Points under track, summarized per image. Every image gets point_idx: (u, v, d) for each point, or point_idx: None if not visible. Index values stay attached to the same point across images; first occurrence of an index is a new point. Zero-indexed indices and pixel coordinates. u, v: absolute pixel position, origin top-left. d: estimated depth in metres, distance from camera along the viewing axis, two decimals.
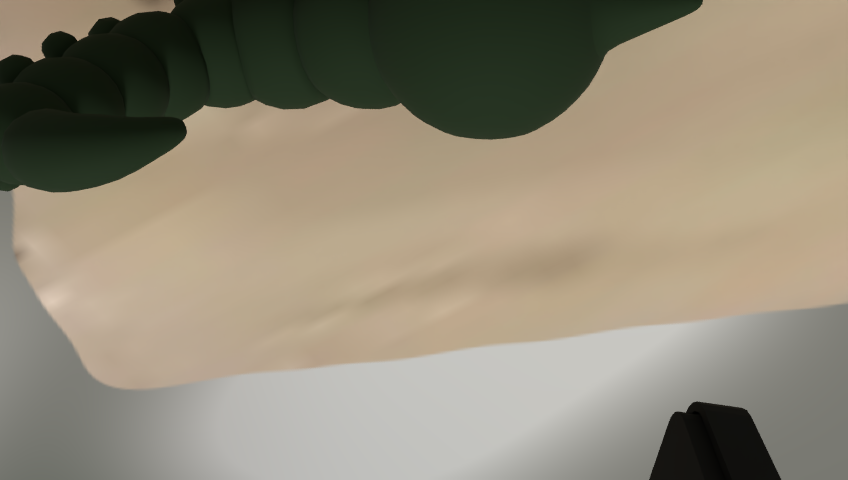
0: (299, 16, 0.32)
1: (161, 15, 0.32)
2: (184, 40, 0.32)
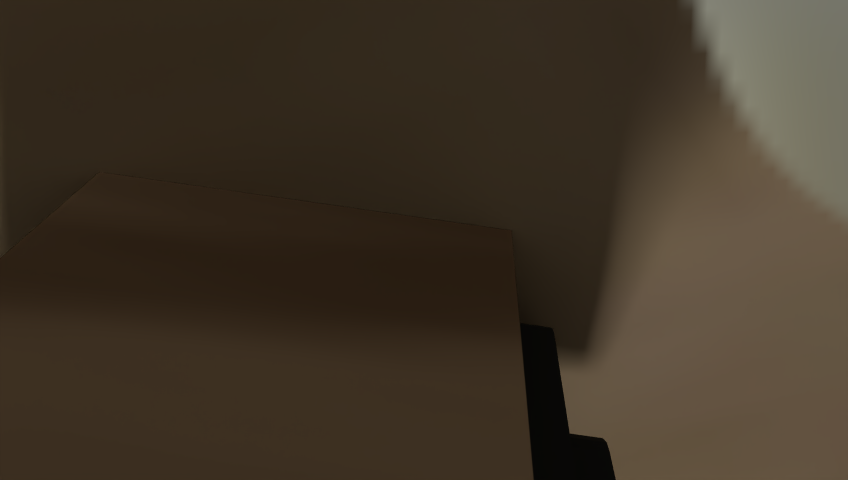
0: None
1: None
2: None
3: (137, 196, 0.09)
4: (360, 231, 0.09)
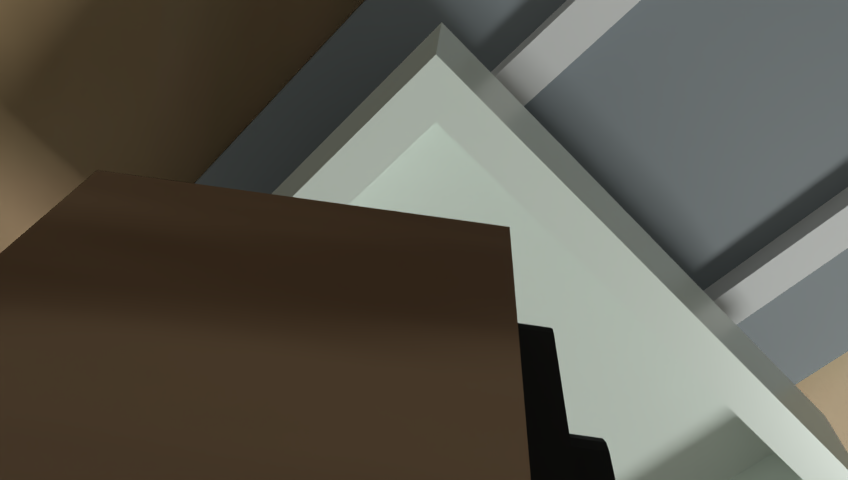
0: None
1: None
2: None
3: (135, 194, 0.09)
4: (357, 228, 0.09)
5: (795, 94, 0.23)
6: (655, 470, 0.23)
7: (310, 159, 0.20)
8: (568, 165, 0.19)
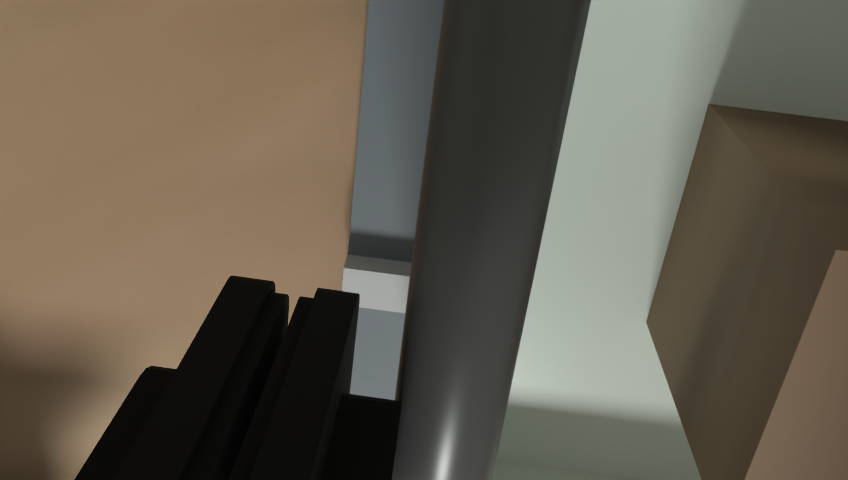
0: None
1: None
2: None
3: None
4: None
5: None
6: None
7: None
8: None
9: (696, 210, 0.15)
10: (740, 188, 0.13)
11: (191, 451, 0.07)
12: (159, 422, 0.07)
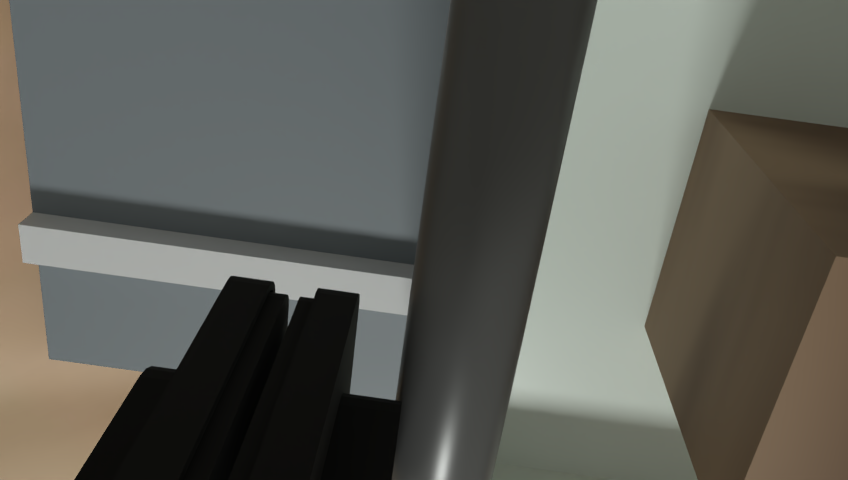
0: None
1: None
2: None
3: None
4: None
5: None
6: None
7: None
8: None
9: (695, 215, 0.15)
10: (740, 194, 0.13)
11: (191, 452, 0.07)
12: (159, 422, 0.07)
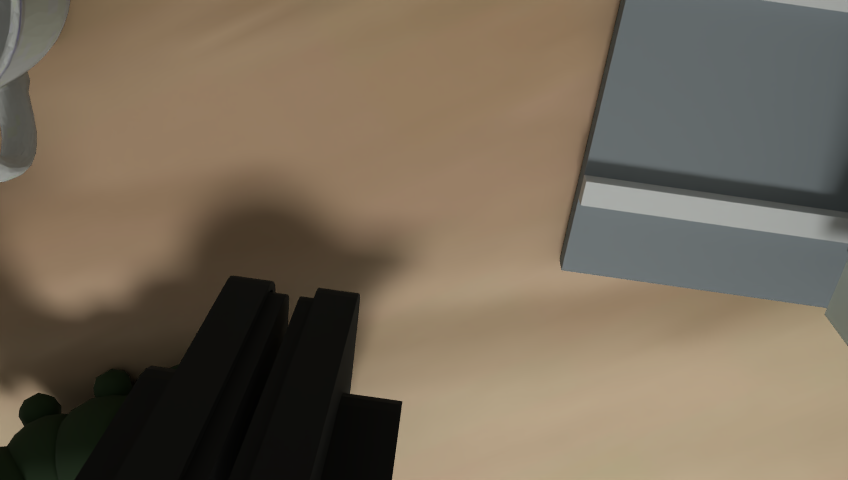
0: None
1: None
2: None
3: None
4: None
5: None
6: None
7: None
8: None
9: None
10: None
11: (191, 451, 0.07)
12: (159, 422, 0.07)
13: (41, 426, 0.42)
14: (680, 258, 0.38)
